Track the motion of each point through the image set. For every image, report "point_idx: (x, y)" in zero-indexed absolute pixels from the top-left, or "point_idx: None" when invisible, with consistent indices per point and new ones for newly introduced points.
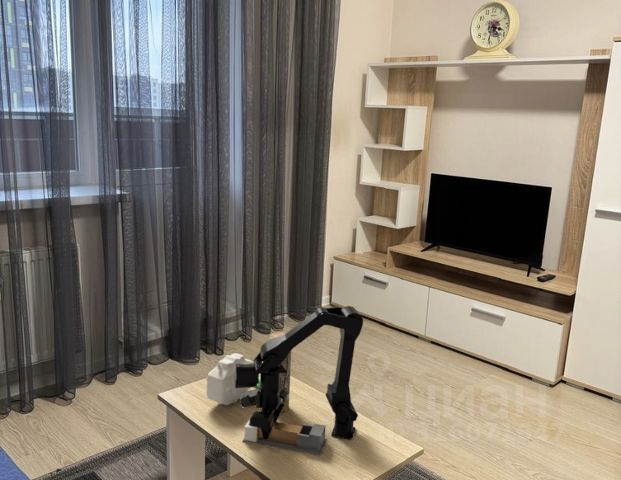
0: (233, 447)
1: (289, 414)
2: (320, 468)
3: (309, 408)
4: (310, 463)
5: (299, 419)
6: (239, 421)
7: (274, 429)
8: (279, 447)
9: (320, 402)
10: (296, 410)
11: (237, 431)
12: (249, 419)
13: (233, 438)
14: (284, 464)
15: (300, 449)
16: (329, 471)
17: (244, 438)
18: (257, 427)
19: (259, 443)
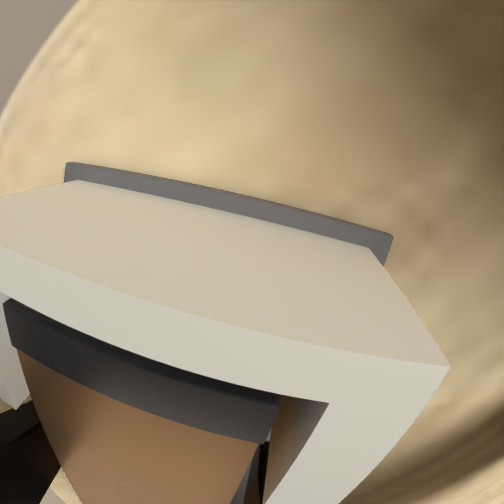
0: (9, 110)
1: (482, 458)
2: (56, 483)
3: (485, 494)
4: (61, 475)
5: (415, 499)
6: (486, 85)
7: (83, 500)
8: None
9: (500, 500)
10: (498, 468)
11: (269, 58)
12: (154, 303)
13: (118, 53)
14: (7, 406)
15: None
16: (58, 491)
17: (66, 183)
18: (3, 399)
19: None
